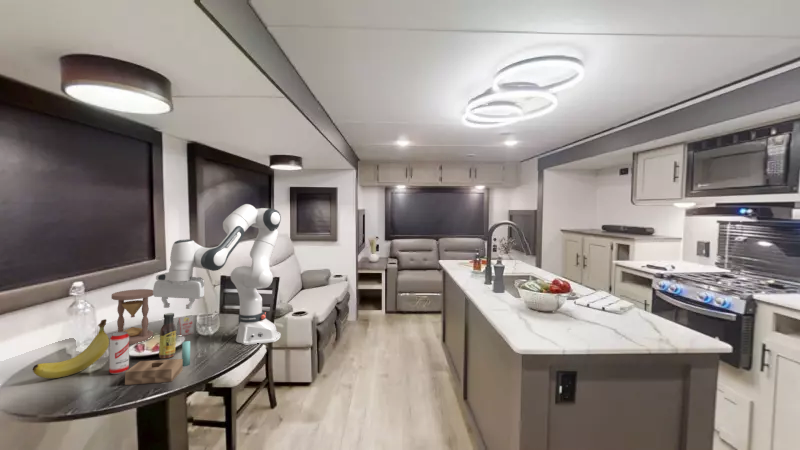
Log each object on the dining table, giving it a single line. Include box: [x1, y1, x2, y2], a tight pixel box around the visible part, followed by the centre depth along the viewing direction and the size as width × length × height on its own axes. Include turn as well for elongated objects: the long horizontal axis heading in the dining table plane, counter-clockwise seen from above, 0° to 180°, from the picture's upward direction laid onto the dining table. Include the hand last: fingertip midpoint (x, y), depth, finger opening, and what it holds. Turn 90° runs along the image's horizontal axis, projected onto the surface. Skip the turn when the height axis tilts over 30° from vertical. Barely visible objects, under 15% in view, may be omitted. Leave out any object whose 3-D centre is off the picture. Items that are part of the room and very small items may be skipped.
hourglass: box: [111, 288, 154, 346], centre depth 176 cm, size 18×18×25 cm
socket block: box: [124, 358, 184, 386], centre depth 134 cm, size 16×10×5 cm, turn 102°
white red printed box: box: [176, 314, 194, 337], centre depth 185 cm, size 4×7×10 cm, turn 148°
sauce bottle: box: [158, 312, 177, 360], centre depth 155 cm, size 7×6×20 cm
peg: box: [181, 340, 191, 367], centre depth 147 cm, size 3×3×10 cm
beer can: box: [108, 331, 130, 375], centre depth 139 cm, size 6×6×16 cm
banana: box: [32, 318, 110, 379], centre depth 136 cm, size 23×6×20 cm, turn 147°
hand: (177, 308), depth 145 cm, fingers open, 8 cm apart
